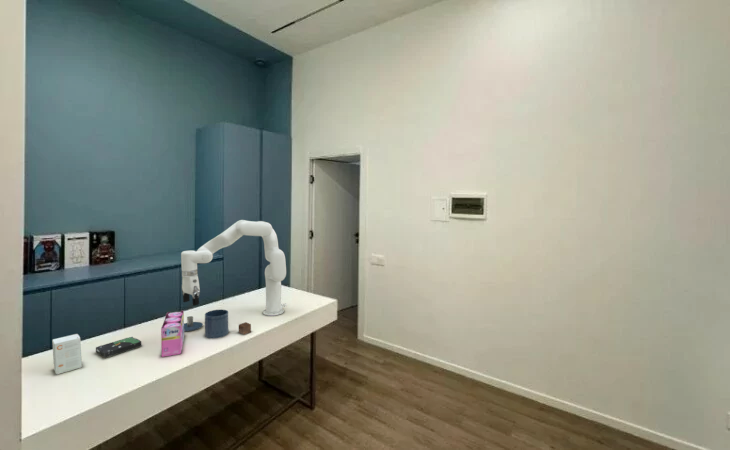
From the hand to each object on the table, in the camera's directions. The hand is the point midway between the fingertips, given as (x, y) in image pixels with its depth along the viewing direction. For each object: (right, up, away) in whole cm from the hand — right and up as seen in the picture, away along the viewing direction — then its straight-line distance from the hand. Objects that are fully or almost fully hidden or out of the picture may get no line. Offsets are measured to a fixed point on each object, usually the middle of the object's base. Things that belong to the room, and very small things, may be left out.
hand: (191, 303), depth 177 cm
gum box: (+3, -16, -21) cm, 26 cm away
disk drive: (-20, -16, -26) cm, 36 cm away
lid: (-1, -13, +1) cm, 13 cm away
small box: (-28, -17, -44) cm, 54 cm away
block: (+31, -15, -4) cm, 35 cm away
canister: (+17, -15, -6) cm, 24 cm away
